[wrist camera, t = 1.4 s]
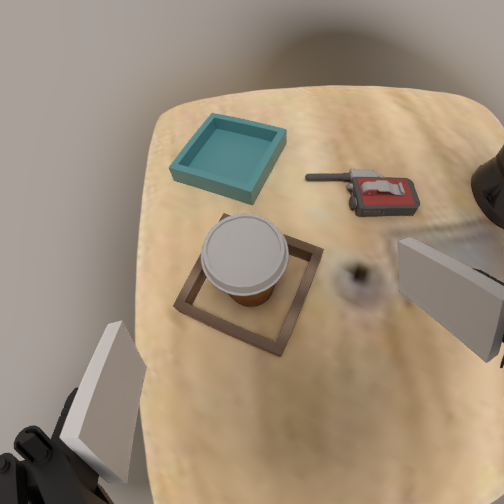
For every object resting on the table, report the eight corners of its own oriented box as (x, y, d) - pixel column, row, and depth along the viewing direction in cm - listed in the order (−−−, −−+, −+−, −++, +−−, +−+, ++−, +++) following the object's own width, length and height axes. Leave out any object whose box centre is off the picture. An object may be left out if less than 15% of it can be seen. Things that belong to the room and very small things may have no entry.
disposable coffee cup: (244, 332, 39) (233, 311, 28) (204, 280, 43) (182, 242, 32) (298, 289, 41) (308, 253, 30) (256, 242, 45) (251, 195, 34)
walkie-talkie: (406, 178, 49) (304, 177, 50) (414, 162, 45) (306, 159, 46) (420, 217, 45) (310, 220, 46) (430, 203, 41) (313, 204, 42)
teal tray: (214, 126, 57) (212, 112, 53) (286, 143, 53) (286, 129, 50) (174, 180, 51) (168, 167, 48) (252, 205, 48) (251, 192, 44)
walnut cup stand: (226, 223, 46) (223, 213, 44) (320, 257, 43) (323, 249, 40) (179, 311, 41) (172, 306, 38) (280, 357, 37) (281, 354, 35)
